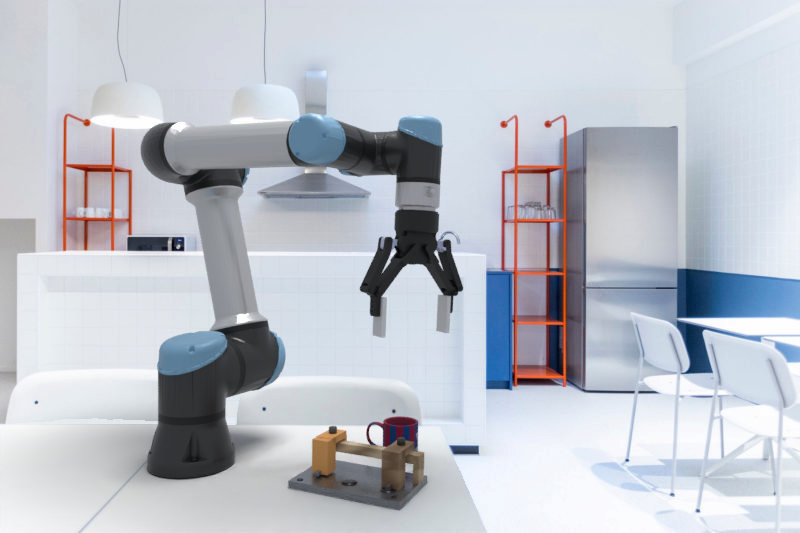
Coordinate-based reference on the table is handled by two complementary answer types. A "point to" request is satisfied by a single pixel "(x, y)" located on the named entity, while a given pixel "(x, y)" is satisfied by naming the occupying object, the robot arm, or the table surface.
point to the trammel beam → (390, 460)
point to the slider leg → (326, 450)
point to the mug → (397, 430)
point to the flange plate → (357, 485)
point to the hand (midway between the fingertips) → (412, 334)
